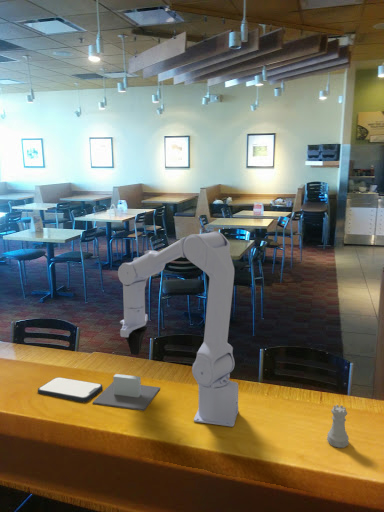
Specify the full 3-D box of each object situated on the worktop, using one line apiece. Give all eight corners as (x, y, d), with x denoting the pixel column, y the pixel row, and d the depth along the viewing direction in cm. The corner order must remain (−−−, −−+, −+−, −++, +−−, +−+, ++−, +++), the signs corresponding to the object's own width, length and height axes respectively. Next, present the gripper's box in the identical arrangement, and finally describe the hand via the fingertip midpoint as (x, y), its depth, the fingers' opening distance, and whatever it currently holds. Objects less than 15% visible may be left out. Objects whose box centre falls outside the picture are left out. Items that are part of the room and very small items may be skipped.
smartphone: (35, 395, 111) (85, 404, 105) (35, 389, 111) (85, 398, 105) (57, 381, 119) (104, 389, 114) (56, 376, 119) (104, 383, 113)
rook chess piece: (334, 434, 92) (336, 400, 90) (353, 443, 88) (355, 408, 87) (322, 441, 89) (324, 406, 88) (340, 451, 85) (342, 415, 84)
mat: (160, 388, 113) (160, 387, 113) (144, 410, 102) (144, 409, 102) (113, 383, 117) (113, 381, 117) (92, 403, 105) (92, 402, 105)
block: (140, 394, 109) (140, 376, 108) (138, 397, 107) (138, 379, 107) (116, 391, 111) (115, 373, 110) (113, 394, 109) (113, 376, 108)
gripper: (131, 298, 119) (132, 343, 121) (108, 312, 106) (110, 362, 108) (154, 299, 118) (154, 345, 120) (134, 314, 104) (135, 365, 106)
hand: (135, 353), depth 113 cm, fingers closed
